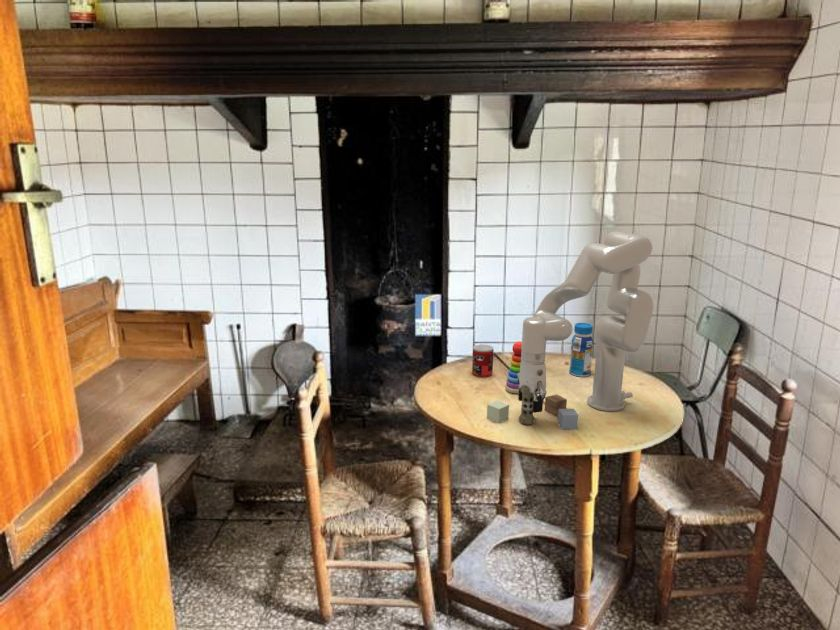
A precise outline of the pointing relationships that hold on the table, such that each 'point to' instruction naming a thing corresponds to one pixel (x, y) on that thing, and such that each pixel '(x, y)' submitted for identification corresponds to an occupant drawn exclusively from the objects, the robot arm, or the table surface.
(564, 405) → the walnut cube
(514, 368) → the stacking toy
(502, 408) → the sage cube
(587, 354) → the beverage bottle
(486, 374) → the canned food
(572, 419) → the slate blue cube
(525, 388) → the grenade model
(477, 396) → the table surface
